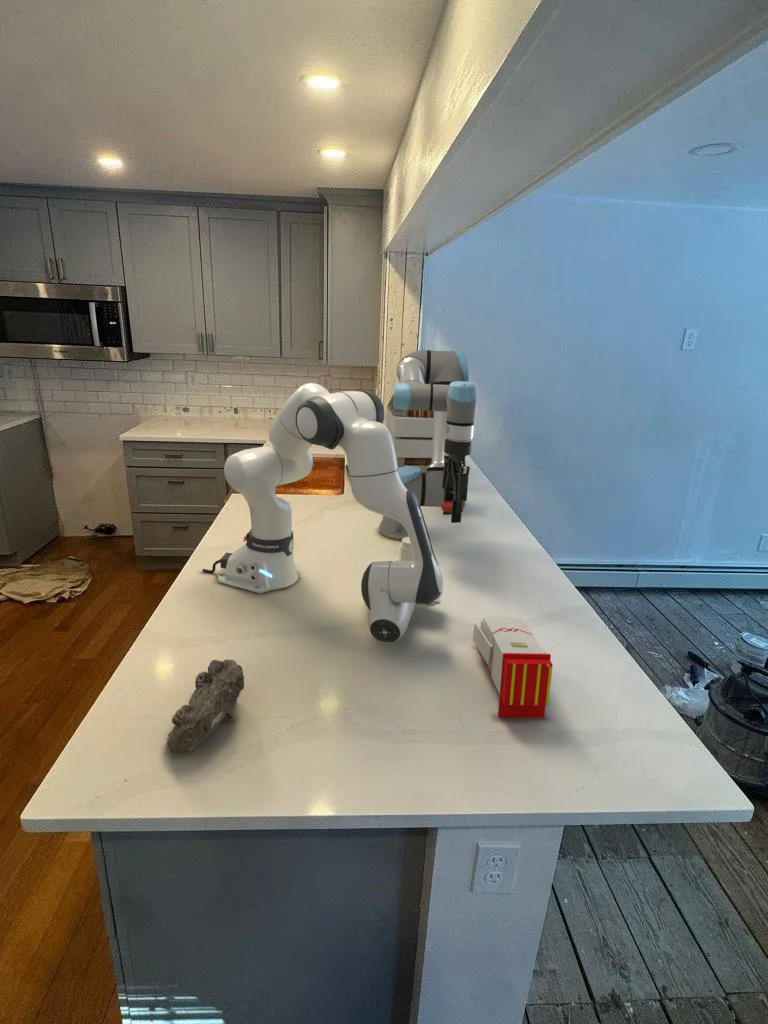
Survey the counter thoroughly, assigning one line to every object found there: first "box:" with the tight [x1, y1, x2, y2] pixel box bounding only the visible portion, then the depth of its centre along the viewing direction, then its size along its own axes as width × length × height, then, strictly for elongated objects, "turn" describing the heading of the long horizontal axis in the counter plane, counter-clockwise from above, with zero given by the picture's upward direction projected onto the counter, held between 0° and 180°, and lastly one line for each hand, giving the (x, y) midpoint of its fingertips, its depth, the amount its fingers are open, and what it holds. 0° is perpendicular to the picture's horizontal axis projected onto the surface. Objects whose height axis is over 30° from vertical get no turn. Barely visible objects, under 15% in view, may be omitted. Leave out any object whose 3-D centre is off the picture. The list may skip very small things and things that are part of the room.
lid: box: [441, 501, 465, 513], centre depth 163 cm, size 6×6×2 cm
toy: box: [472, 616, 553, 719], centre depth 122 cm, size 12×13×30 cm
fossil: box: [166, 658, 245, 754], centre depth 106 cm, size 22×10×15 cm
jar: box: [398, 537, 415, 561], centre depth 153 cm, size 6×6×17 cm
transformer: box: [385, 393, 434, 468], centre depth 268 cm, size 34×33×41 cm
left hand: (408, 575), depth 154 cm, fingers closed on jar, 5 cm apart
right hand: (451, 518), depth 164 cm, fingers closed on lid, 6 cm apart
